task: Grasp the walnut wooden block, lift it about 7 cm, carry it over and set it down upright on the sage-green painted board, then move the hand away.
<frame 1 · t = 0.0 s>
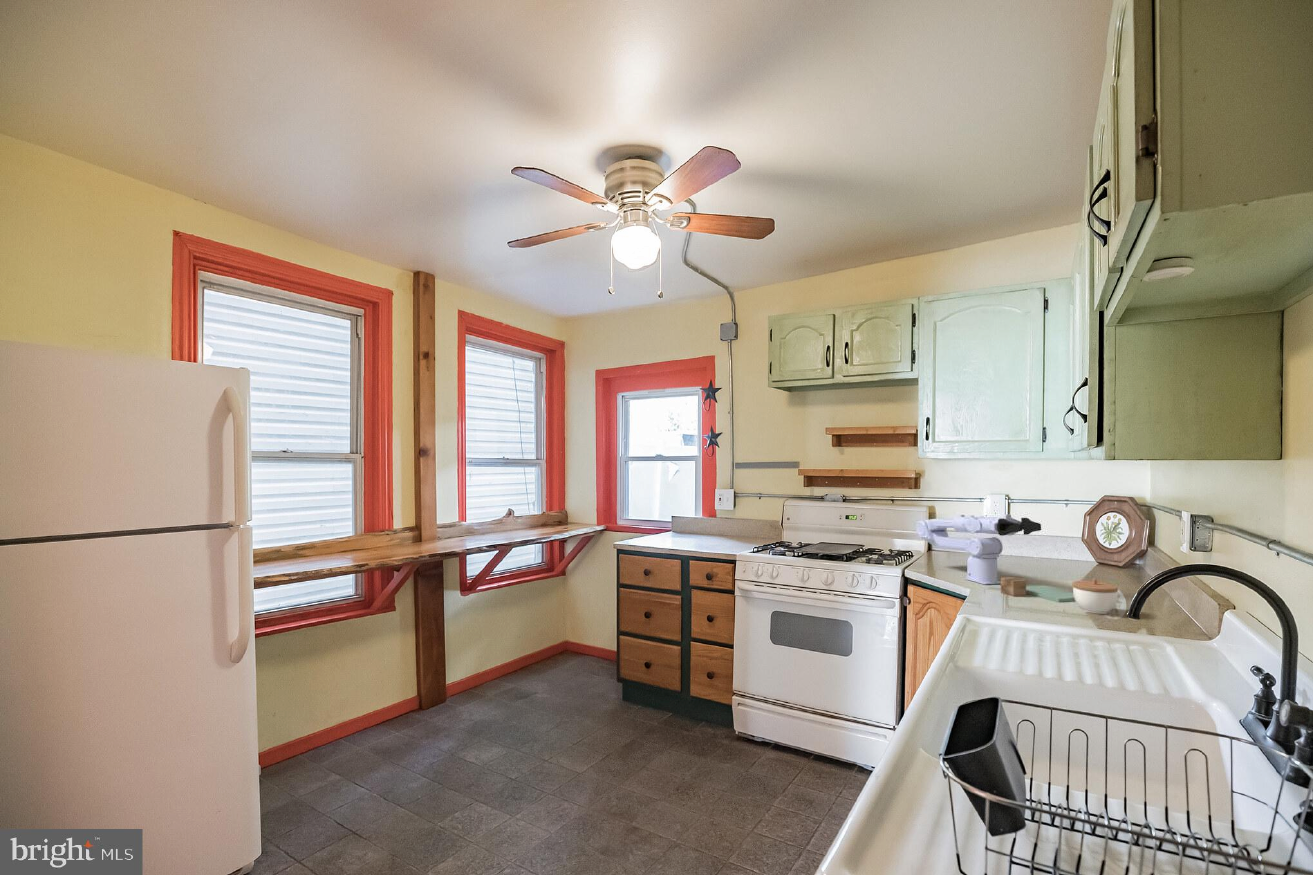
hand: (1030, 527, 197), 22 cm above the counter, tool horizontal, fingers open, 7 cm apart
walnut block: (1013, 594, 198), on the counter
sage board: (1051, 594, 197), on the counter
lidded jar: (1095, 612, 177), on the counter
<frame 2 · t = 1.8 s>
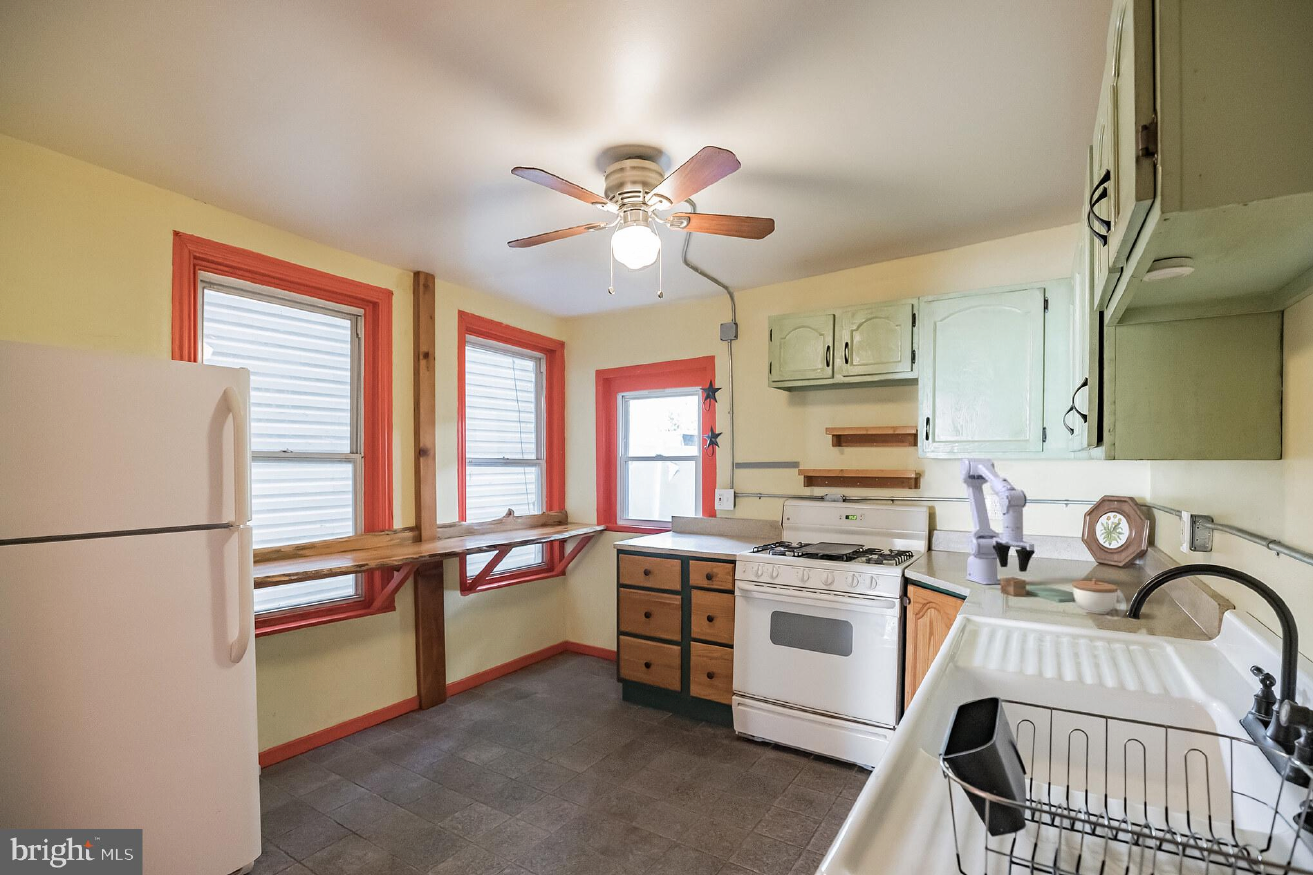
hand: (1013, 569, 198), 8 cm above the counter, tool pointing down, fingers open, 7 cm apart
nothing on the counter moved.
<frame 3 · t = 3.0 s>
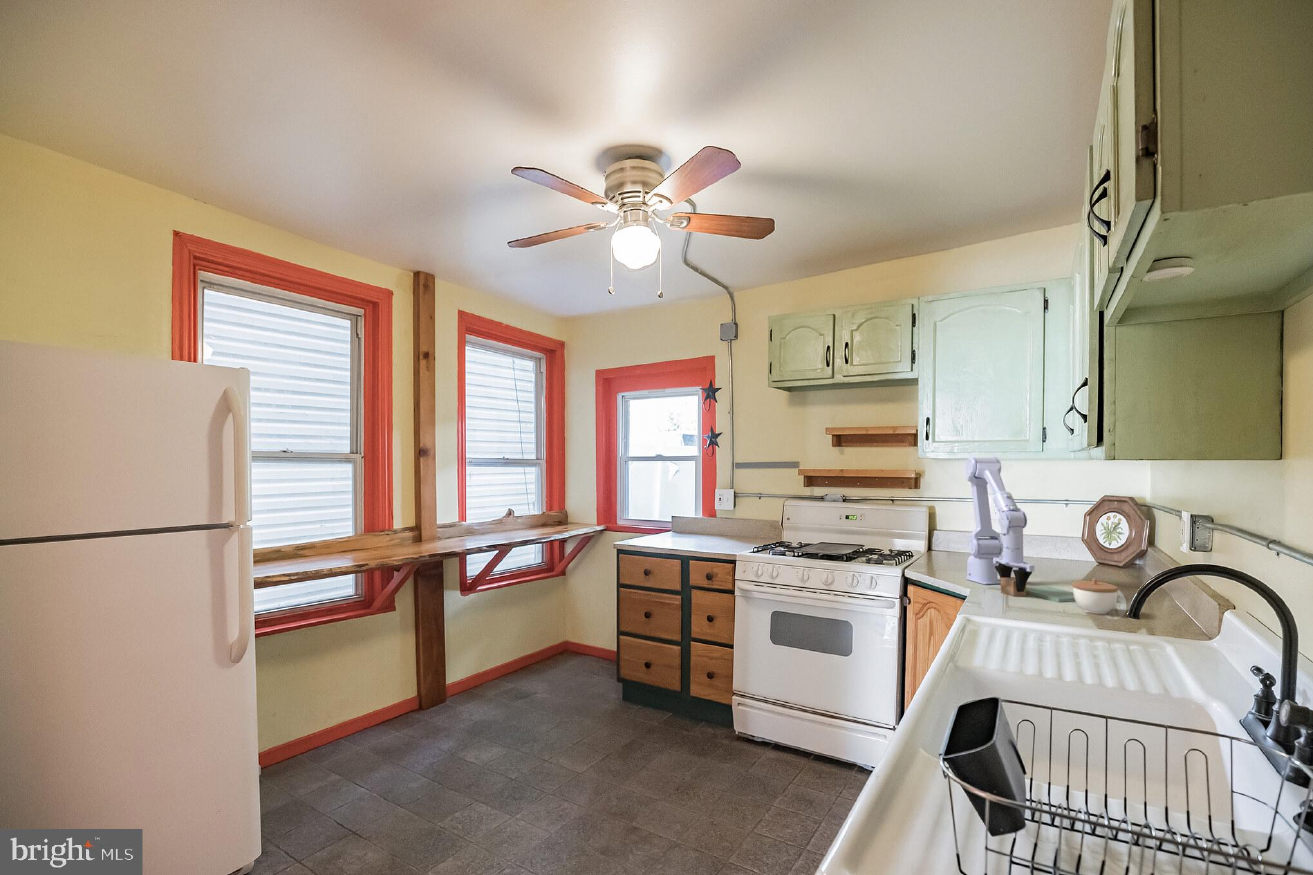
hand: (1013, 589, 198), 1 cm above the counter, tool pointing down, fingers closed on walnut block, 5 cm apart
walnut block: (1013, 594, 198), on the counter, touching gripper
everything else where it was.
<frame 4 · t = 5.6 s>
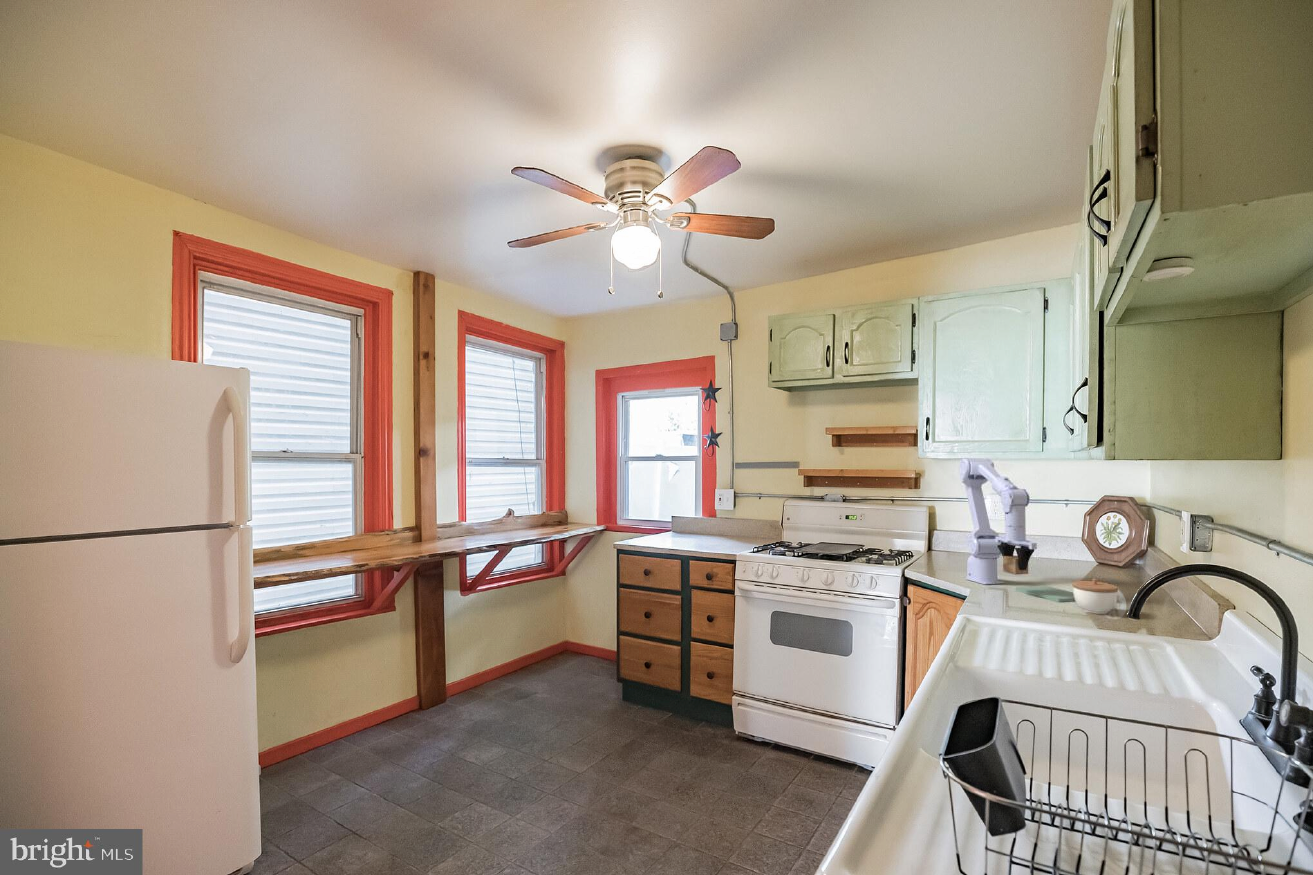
hand: (1015, 568, 198), 8 cm above the counter, tool pointing down, fingers closed on walnut block, 5 cm apart
walnut block: (1015, 572, 198), point 7 cm above the counter, touching gripper
everything else where it was.
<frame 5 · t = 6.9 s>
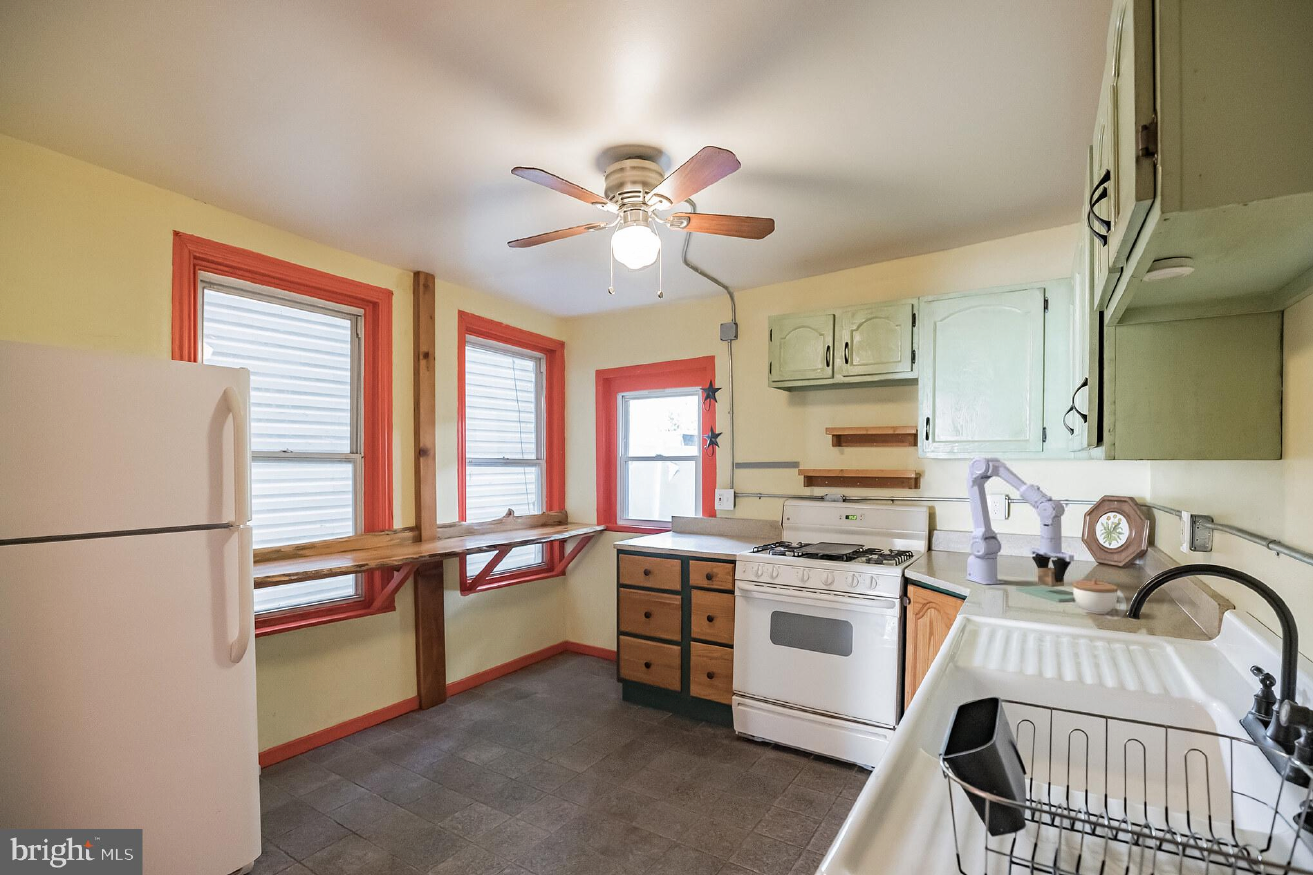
hand: (1051, 580, 197), 5 cm above the counter, tool pointing down, fingers closed on walnut block, 5 cm apart
walnut block: (1050, 584, 197), point 3 cm above the counter, touching gripper
everything else where it was.
when the fingers open (4 cm above the counter, at t = 8.0 s): walnut block drops 1 cm, resting on sage board.
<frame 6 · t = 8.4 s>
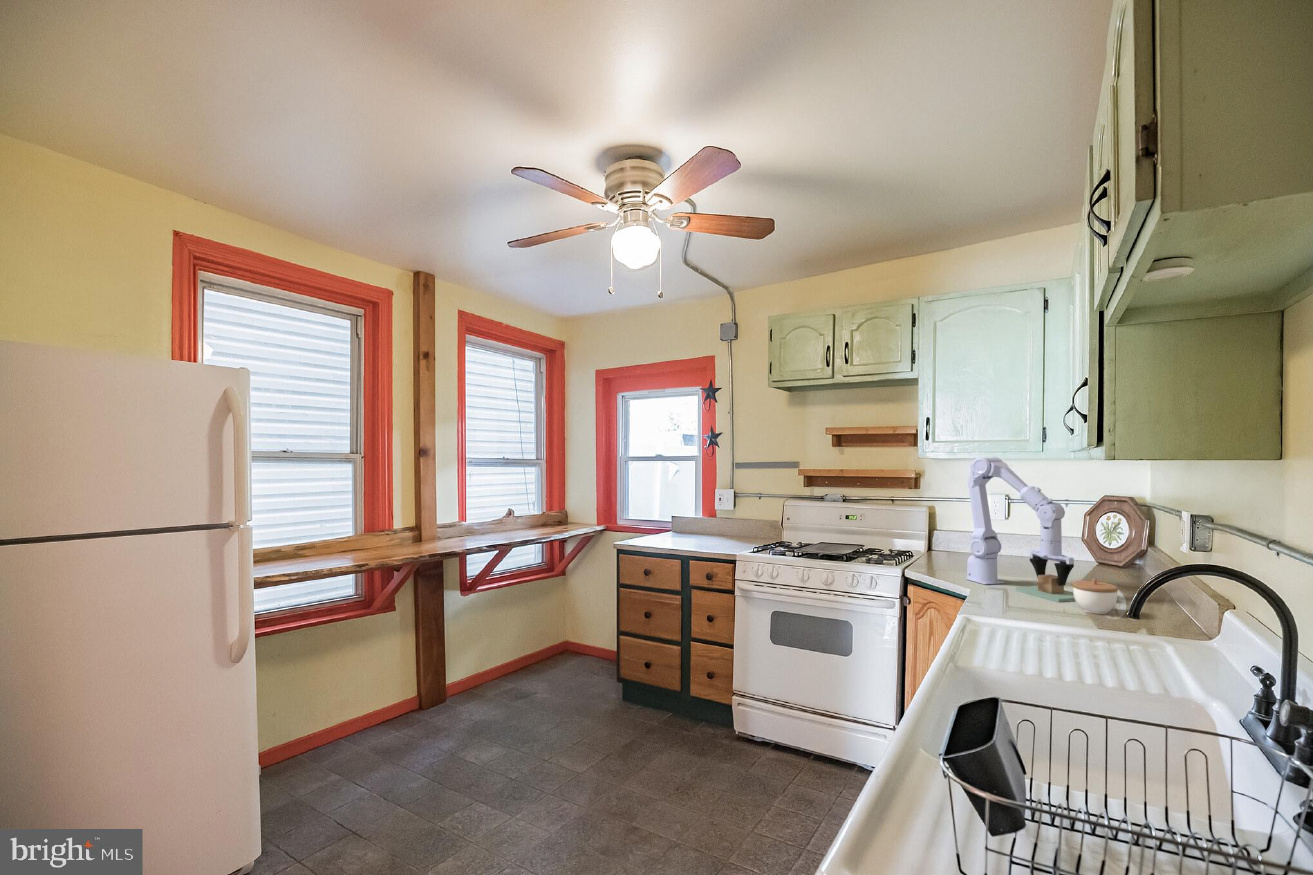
hand: (1051, 582, 197), 4 cm above the counter, tool pointing down, fingers open, 7 cm apart
walnut block: (1050, 591, 197), point 1 cm above the counter, touching sage board
everything else where it was.
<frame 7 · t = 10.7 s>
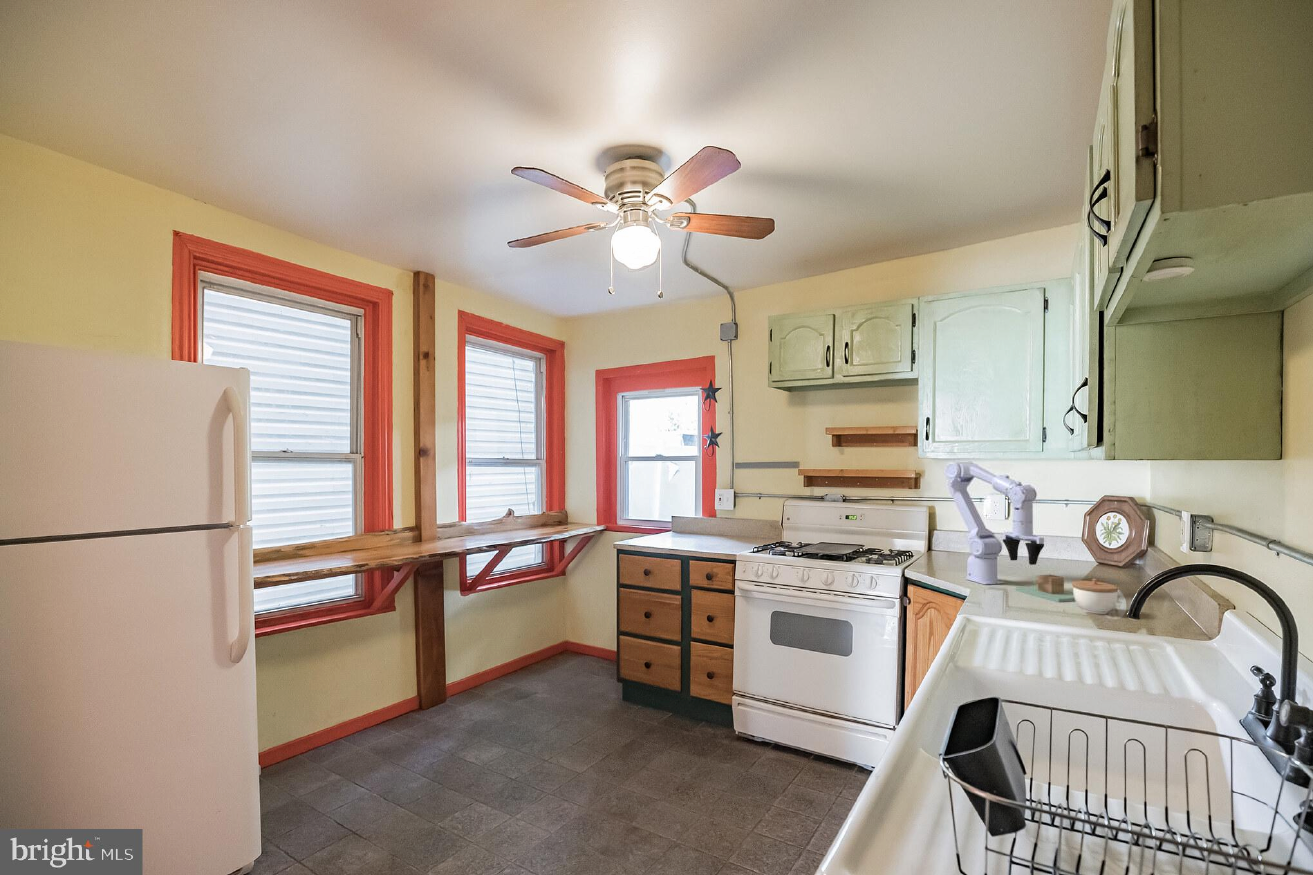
hand: (1023, 562, 203), 9 cm above the counter, tool pointing down, fingers open, 7 cm apart
nothing on the counter moved.
at the end: walnut block inside the target area on the sage board (0.2 cm from its centre), point 1.0 cm above the sage board's base; walnut block tilted 0°; the gripper is holding nothing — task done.
